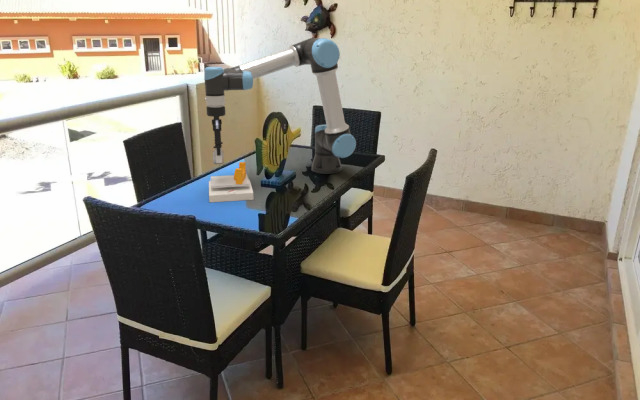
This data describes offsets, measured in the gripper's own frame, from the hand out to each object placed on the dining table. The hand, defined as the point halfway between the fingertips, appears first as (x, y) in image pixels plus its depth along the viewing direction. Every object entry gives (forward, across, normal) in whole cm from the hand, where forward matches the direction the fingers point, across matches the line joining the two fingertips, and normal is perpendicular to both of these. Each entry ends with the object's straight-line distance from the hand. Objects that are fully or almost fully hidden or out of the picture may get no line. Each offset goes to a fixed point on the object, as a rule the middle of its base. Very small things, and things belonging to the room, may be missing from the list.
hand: (219, 161), depth 210 cm
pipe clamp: (+9, +1, +8) cm, 12 cm away
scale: (+14, +2, +4) cm, 15 cm away
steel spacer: (+1, 0, 0) cm, 1 cm away
